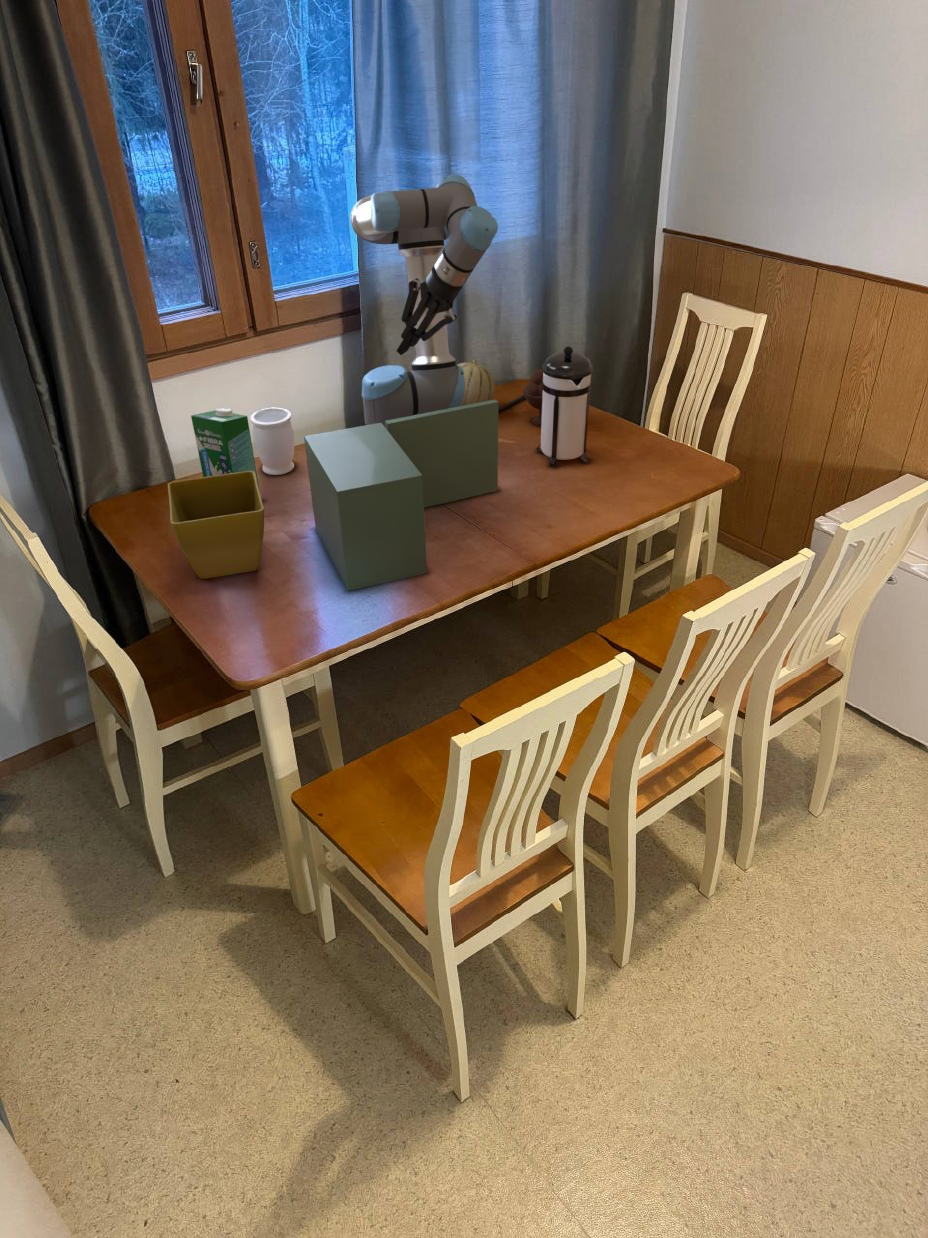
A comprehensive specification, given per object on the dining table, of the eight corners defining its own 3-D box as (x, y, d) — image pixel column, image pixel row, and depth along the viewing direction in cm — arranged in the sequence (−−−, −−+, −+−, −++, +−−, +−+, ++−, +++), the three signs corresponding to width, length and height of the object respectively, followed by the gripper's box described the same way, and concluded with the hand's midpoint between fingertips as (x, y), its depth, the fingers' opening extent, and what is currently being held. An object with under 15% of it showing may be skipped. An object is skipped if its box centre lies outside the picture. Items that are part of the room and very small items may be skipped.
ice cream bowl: (518, 426, 264) (519, 376, 255) (530, 411, 273) (532, 362, 264) (553, 432, 261) (555, 381, 252) (565, 416, 269) (567, 366, 260)
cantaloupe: (440, 420, 268) (438, 370, 260) (449, 400, 280) (448, 351, 271) (490, 423, 266) (491, 373, 257) (497, 402, 278) (498, 354, 269)
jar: (290, 479, 240) (282, 425, 231) (252, 475, 242) (243, 422, 233) (303, 460, 249) (296, 408, 240) (267, 457, 250) (259, 405, 242)
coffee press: (601, 450, 251) (610, 341, 234) (574, 473, 240) (581, 361, 223) (545, 436, 259) (549, 329, 241) (516, 458, 248) (519, 348, 230)
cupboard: (388, 514, 225) (381, 422, 211) (426, 573, 204) (422, 475, 189) (315, 529, 220) (303, 435, 205) (347, 591, 198) (337, 491, 184)
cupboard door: (382, 501, 230) (376, 411, 216) (484, 478, 239) (484, 390, 225) (393, 514, 224) (387, 423, 210) (497, 490, 233) (498, 401, 219)
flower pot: (275, 576, 203) (264, 509, 194) (186, 591, 199) (170, 523, 189) (264, 533, 218) (254, 469, 208) (181, 547, 214) (167, 482, 204)
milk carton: (261, 500, 231) (246, 406, 216) (239, 517, 225) (222, 421, 210) (231, 494, 234) (214, 400, 220) (209, 510, 228) (190, 414, 213)
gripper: (417, 258, 195) (372, 336, 212) (462, 301, 195) (413, 376, 213) (435, 248, 200) (390, 325, 217) (479, 290, 200) (430, 364, 218)
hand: (401, 350), depth 215 cm, fingers closed
